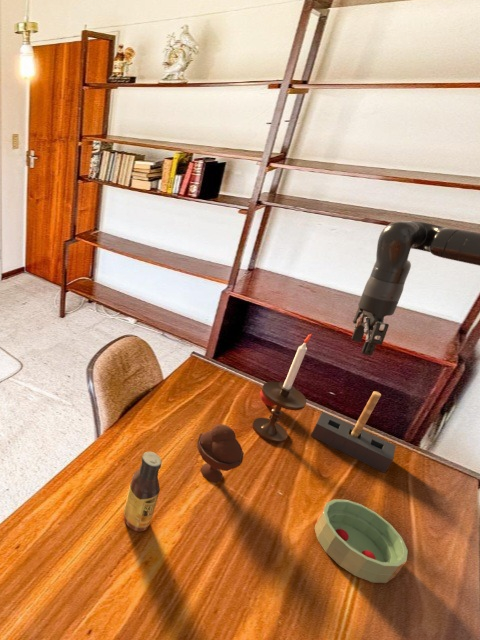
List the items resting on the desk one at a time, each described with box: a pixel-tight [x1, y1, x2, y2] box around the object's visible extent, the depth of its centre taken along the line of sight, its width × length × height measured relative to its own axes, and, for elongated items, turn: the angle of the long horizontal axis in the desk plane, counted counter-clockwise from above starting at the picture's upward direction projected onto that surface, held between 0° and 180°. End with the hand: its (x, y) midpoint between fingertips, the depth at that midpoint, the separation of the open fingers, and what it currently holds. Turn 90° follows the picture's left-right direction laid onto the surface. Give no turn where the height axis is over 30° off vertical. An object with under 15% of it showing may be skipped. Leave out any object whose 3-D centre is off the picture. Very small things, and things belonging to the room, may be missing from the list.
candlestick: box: [251, 333, 313, 444], centre depth 111 cm, size 11×11×35 cm
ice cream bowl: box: [196, 424, 245, 483], centre depth 102 cm, size 11×11×15 cm
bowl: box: [314, 498, 409, 584], centre depth 87 cm, size 14×14×6 cm
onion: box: [259, 389, 276, 407], centre depth 128 cm, size 6×6×8 cm
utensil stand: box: [310, 411, 397, 474], centre depth 114 cm, size 17×7×5 cm, turn 44°
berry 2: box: [362, 550, 376, 560], centre depth 85 cm, size 2×2×2 cm
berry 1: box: [336, 529, 349, 541], centre depth 89 cm, size 2×2×2 cm
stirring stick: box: [350, 390, 382, 438], centre depth 110 cm, size 2×2×20 cm
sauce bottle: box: [123, 451, 163, 533], centre depth 88 cm, size 6×6×20 cm
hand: (360, 347), depth 112 cm, fingers open, 8 cm apart
